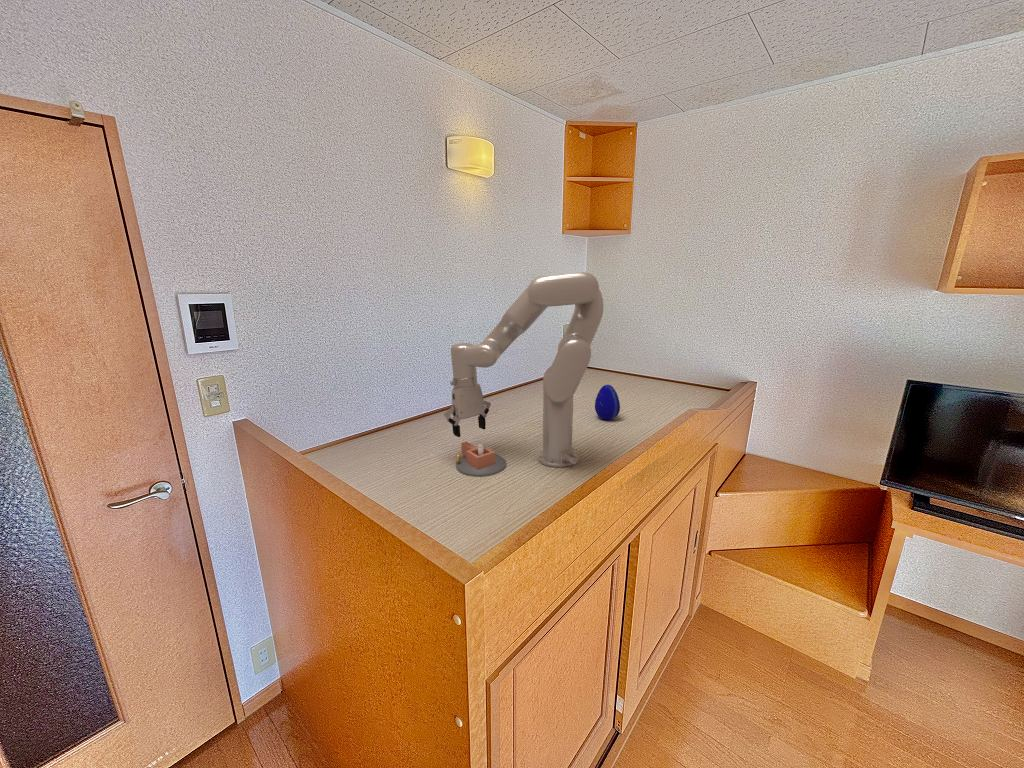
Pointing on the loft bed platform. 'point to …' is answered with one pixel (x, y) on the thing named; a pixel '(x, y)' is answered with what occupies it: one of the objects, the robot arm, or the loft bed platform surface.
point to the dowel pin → (458, 458)
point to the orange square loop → (473, 457)
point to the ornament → (607, 403)
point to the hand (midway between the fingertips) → (470, 432)
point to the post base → (487, 471)
